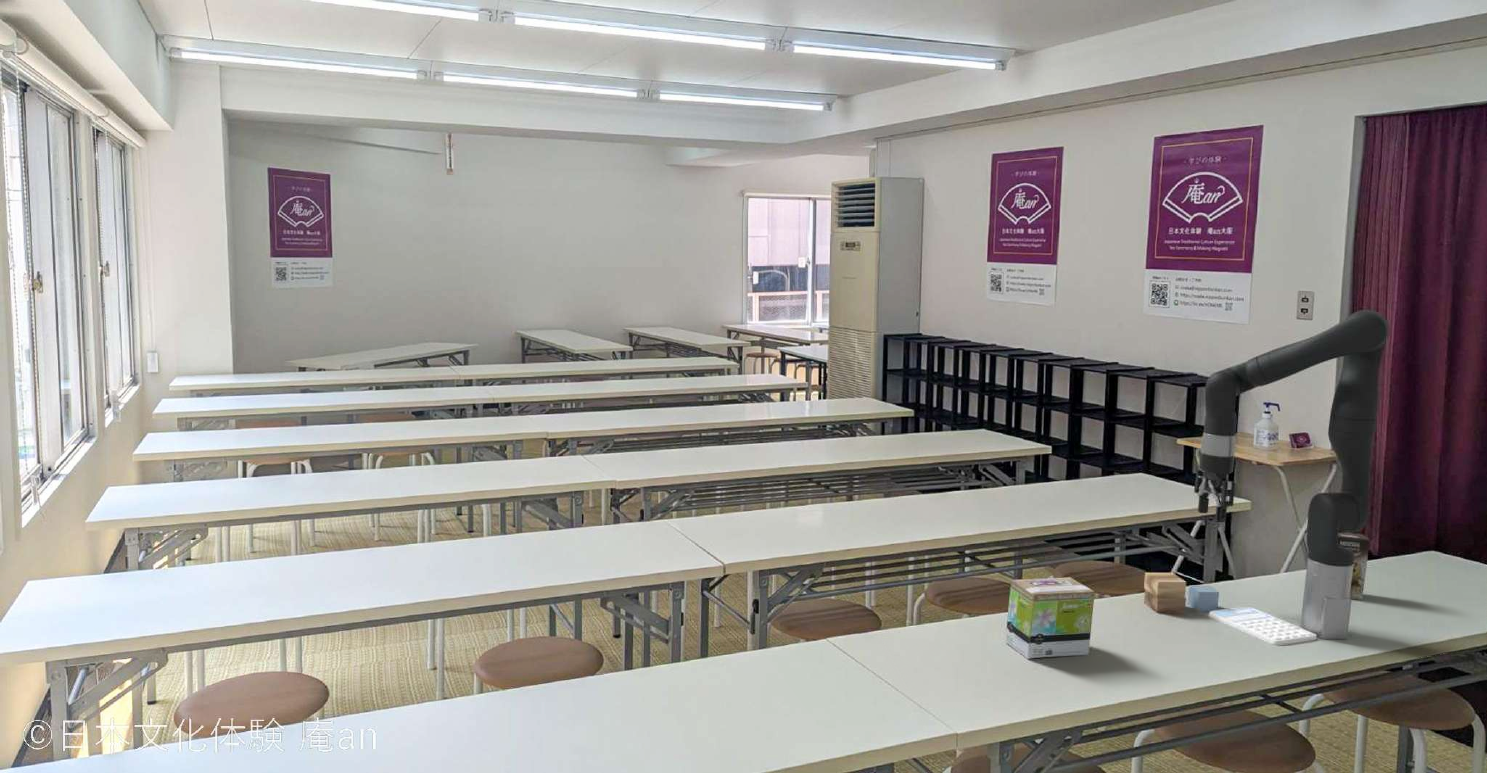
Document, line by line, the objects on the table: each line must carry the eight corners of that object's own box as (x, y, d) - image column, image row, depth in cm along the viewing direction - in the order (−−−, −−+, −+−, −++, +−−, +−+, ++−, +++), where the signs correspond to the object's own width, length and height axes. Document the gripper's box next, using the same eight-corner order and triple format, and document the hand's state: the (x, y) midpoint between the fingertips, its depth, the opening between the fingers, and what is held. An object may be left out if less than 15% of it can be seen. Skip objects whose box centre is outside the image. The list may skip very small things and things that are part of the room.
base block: (1184, 614, 251) (1186, 598, 250) (1156, 613, 250) (1158, 597, 250) (1171, 604, 258) (1172, 588, 257) (1143, 603, 257) (1145, 588, 257)
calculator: (1275, 648, 232) (1276, 639, 231) (1206, 617, 250) (1207, 609, 250) (1318, 641, 236) (1319, 633, 236) (1247, 611, 255) (1248, 604, 255)
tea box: (1028, 660, 218) (1033, 593, 216) (1004, 643, 228) (1008, 578, 226) (1090, 655, 222) (1095, 589, 220) (1064, 638, 232) (1069, 574, 230)
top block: (1184, 597, 251) (1186, 581, 250) (1156, 597, 250) (1158, 581, 250) (1171, 588, 257) (1172, 572, 257) (1143, 588, 257) (1145, 572, 256)
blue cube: (1217, 611, 253) (1219, 592, 252) (1197, 611, 253) (1199, 591, 252) (1207, 604, 258) (1208, 585, 257) (1187, 604, 258) (1189, 585, 257)
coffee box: (1323, 595, 267) (1330, 535, 265) (1317, 588, 274) (1324, 529, 271) (1363, 600, 265) (1370, 539, 263) (1356, 592, 271) (1363, 533, 269)
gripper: (1248, 458, 243) (1241, 525, 245) (1217, 446, 257) (1211, 509, 259) (1217, 457, 243) (1210, 524, 245) (1188, 446, 257) (1182, 509, 259)
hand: (1211, 517), depth 252 cm, fingers open, 8 cm apart
